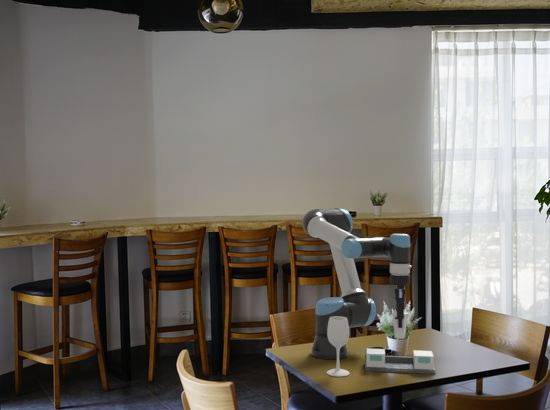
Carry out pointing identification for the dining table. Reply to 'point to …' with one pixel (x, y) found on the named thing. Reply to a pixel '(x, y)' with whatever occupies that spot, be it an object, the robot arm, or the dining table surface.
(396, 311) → the smoothie
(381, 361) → the mounted modules
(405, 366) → the rail plate
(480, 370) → the dining table surface
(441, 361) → the dining table surface
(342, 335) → the wineglass
